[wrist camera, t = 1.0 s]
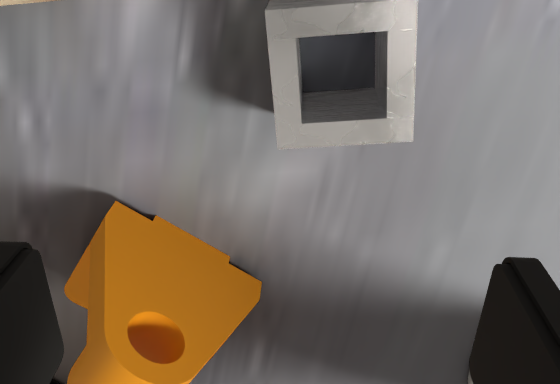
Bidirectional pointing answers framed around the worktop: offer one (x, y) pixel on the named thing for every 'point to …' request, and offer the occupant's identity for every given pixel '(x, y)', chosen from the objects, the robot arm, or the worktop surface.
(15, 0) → the post stand
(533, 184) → the worktop surface
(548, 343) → the robot arm
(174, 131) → the worktop surface
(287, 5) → the collar
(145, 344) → the bracket
